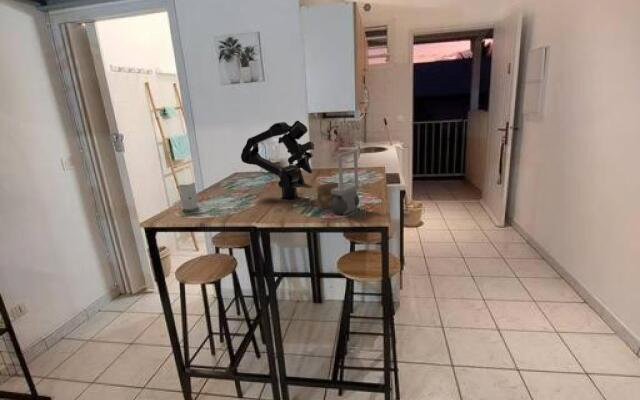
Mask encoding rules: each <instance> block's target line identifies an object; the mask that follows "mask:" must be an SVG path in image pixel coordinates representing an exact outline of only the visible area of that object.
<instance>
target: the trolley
mask: <svg viewBox="0 0 640 400" xmlns="http://www.w3.org/2000/svg"><path fill="white" fill-rule="evenodd" d="M350 155H353V169H354V171H353V172H354V173H353V175H354V183H353V184H352V183H345V184H344V178H343V177H344V175H343V159H342V158H343V157H346V156H350ZM337 162H338V163H337V164H338V179H339V180H338V181H339V182H338V187H337V188H334V189H332V190H331V194H336V195H339V197H336V198H333V199H332V201H331V209H330V210H331V211H332V212H333V214H336V215H342V214H343V216H345V214H346V215H347V213H348V214H349V212H350V213H352V212H354V211H356V210H357V209H358V206H359V204H360V198H359V195H358V194H357V190H358V189H359V168H358V167H359V166H358V165H359V164H358V151H357V149H352V150H349V151H346V152H341V153H338V155H337ZM353 210H354V211H353ZM351 211H352V212H351Z"/></svg>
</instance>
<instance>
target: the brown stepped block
mask: <svg viewBox="0 0 640 400" xmlns="http://www.w3.org/2000/svg"><path fill="white" fill-rule="evenodd" d="M337 187H339V182H334V181H330V182H327V183H324V184H321V185H319V186H316V195H317V196H315V197H314V198H310V199H309V206H314V207H318V208H319V207H320V208H324V209H329V210H332V209H331V201H332V199H333V198H336V197H339V195H336V194H331V190H332V189H334V188H337Z"/></svg>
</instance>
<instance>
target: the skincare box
mask: <svg viewBox="0 0 640 400" xmlns="http://www.w3.org/2000/svg"><path fill="white" fill-rule="evenodd" d="M178 186H179V192H180V199H181V204H182V205H181V207H182V209H183V210H191V209H192V210H195V209H197V208H199V203H198V196H197V194H198V193H197V190H196V182H189V181H188V182H182V183H180V184H178ZM194 208H195V209H194Z"/></svg>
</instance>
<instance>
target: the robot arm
mask: <svg viewBox="0 0 640 400" xmlns="http://www.w3.org/2000/svg"><path fill="white" fill-rule="evenodd" d="M308 131H309V130H308V128H307V126H306V125H305V124H304V123H302V122H300V120H295V121H294V122H293V124H291V125H289V124H288V123H287V122H285V121H282V122H280V121H279V122H276V123H273V124H272V125H271V126H269V128H268V129H266V130H264V131H262V132H260V133H258V134H256V135H254V136H252V137H249V138H248V139H247V140H246V144H245V145H244V147H243V148H242V151H241V155H240V159H241V162H242V163H244V164H247V165H255V166H257V167H259V168H262V169H264V170H266V171H268V172H270V173H272V174H273V175H275V176H278V178H279V180H278V182H277V184H278V186H279V188H281V197H280V200H281V199H283V200H293V199H295V198H297V197H298V196H299V195H298V190H297V188H298V187H296V186H295V185H294V184H297V181H298V179H299V173H298V171H297V170H295V168H292V167H290V166H289V164H290V165H292V164H294V162H296V163H295V164H296V165H297V166H298V167H300V169H301V170H303V171H305V172H307V173H308V174H312V173H313V170H312V168H311V165H310V159H312V158H313V157H314V155H313V153H312V152H310V150H315V144H314V142H312V141H307V142H306V143H303V144H301V143H299V142H298V140H301V138H302V137H304V135H306V134H307V133H308ZM278 136H281V137H278ZM273 137H278V142H277V144H282V143H283V146H285V148H286V149H287V153H288V154H290V155H291V156H289V157H288V158H287V162H288V165H287V166H283V167H282V166H281V165H279V164H277V163H275V162H272V161H270V160H268V159H266V158H263V156H261V155H260V153H259V144H260V143H263V142H265V141H267V140H269V139H272V138H273ZM308 151H309V152H308Z"/></svg>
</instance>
